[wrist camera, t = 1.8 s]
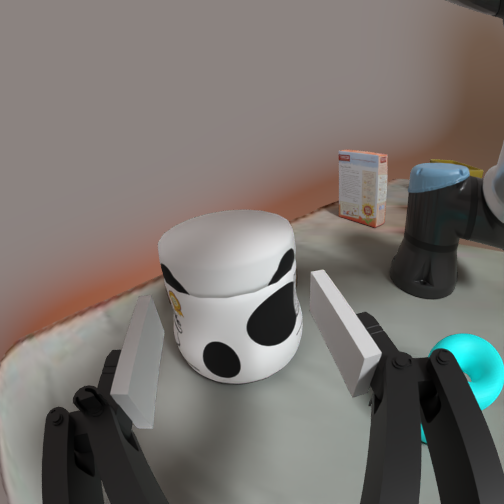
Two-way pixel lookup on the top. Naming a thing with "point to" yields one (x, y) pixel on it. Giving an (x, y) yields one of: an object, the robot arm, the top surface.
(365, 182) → the cracker box
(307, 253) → the top surface
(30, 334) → the top surface
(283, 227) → the milk container
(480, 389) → the donuts
